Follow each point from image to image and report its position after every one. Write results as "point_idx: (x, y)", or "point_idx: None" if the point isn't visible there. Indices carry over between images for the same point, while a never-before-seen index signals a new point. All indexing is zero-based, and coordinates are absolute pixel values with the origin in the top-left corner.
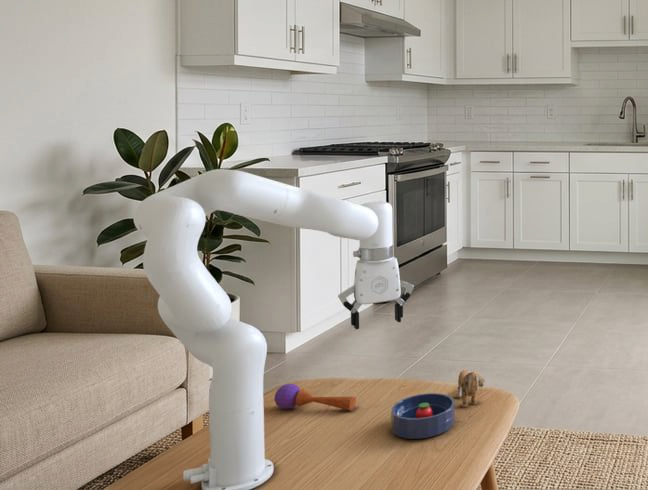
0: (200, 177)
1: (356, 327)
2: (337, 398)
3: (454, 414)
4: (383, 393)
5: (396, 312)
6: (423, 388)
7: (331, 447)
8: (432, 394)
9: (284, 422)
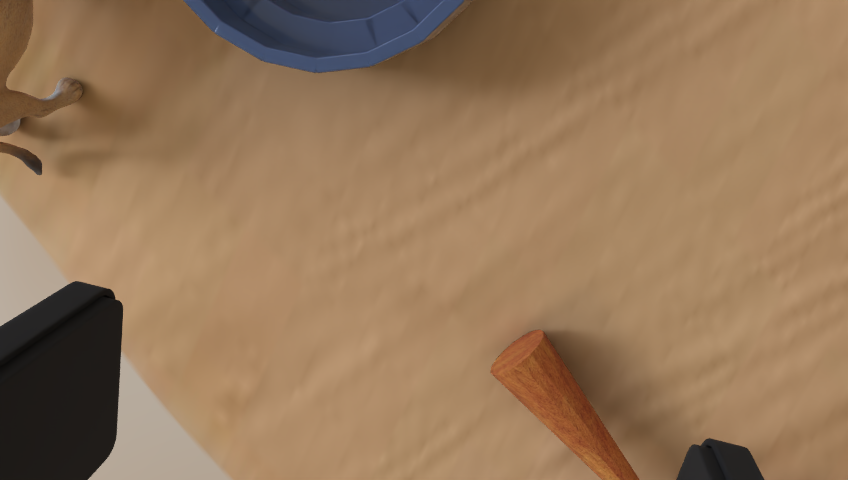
0: None
1: (749, 458)
2: (572, 414)
3: None
4: (335, 396)
5: (33, 442)
6: (171, 313)
7: (791, 25)
8: (204, 1)
9: (792, 441)
